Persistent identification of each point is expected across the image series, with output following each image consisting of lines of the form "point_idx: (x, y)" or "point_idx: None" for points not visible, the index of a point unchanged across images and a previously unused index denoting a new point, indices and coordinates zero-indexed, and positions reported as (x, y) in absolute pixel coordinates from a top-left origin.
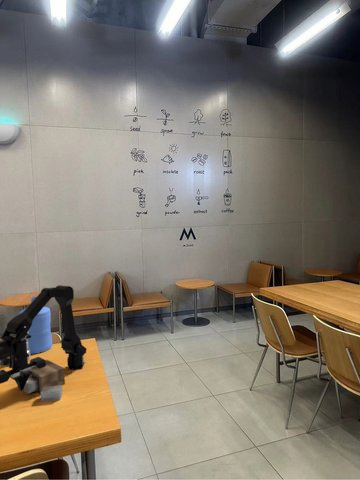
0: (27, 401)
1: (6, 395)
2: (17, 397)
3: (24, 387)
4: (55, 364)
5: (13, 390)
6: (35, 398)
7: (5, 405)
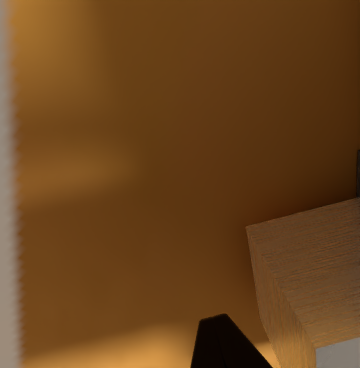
0: None
1: (38, 129)
2: (157, 258)
3: (272, 302)
4: None
5: (149, 29)
6: None
7: (28, 337)
